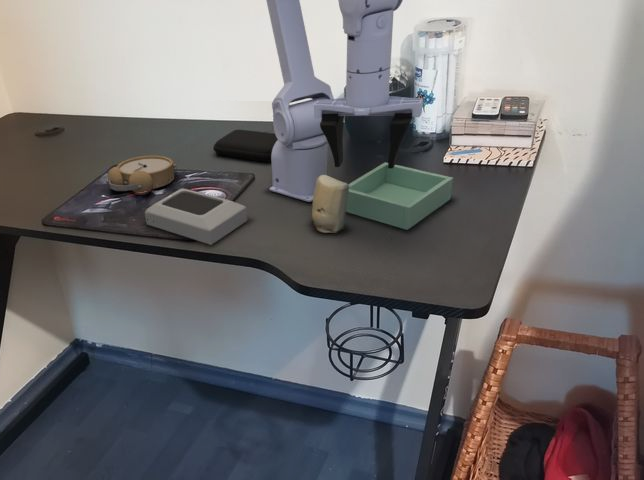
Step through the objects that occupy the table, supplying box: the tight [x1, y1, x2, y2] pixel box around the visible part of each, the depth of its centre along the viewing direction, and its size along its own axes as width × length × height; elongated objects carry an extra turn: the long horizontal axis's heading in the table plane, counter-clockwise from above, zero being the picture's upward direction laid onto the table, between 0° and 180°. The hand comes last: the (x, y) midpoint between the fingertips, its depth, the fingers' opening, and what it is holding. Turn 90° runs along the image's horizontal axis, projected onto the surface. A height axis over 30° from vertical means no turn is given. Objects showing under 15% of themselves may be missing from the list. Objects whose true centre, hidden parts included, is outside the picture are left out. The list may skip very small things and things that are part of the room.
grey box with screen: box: [144, 187, 248, 246], centre depth 108 cm, size 10×4×15 cm
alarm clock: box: [105, 155, 178, 196], centre depth 124 cm, size 11×5×15 cm
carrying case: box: [213, 129, 278, 163], centre depth 130 cm, size 11×3×15 cm
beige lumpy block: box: [311, 174, 349, 234], centre depth 99 cm, size 6×5×8 cm
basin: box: [345, 161, 454, 231], centre depth 103 cm, size 13×13×4 cm
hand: (364, 165), depth 93 cm, fingers open, 7 cm apart
